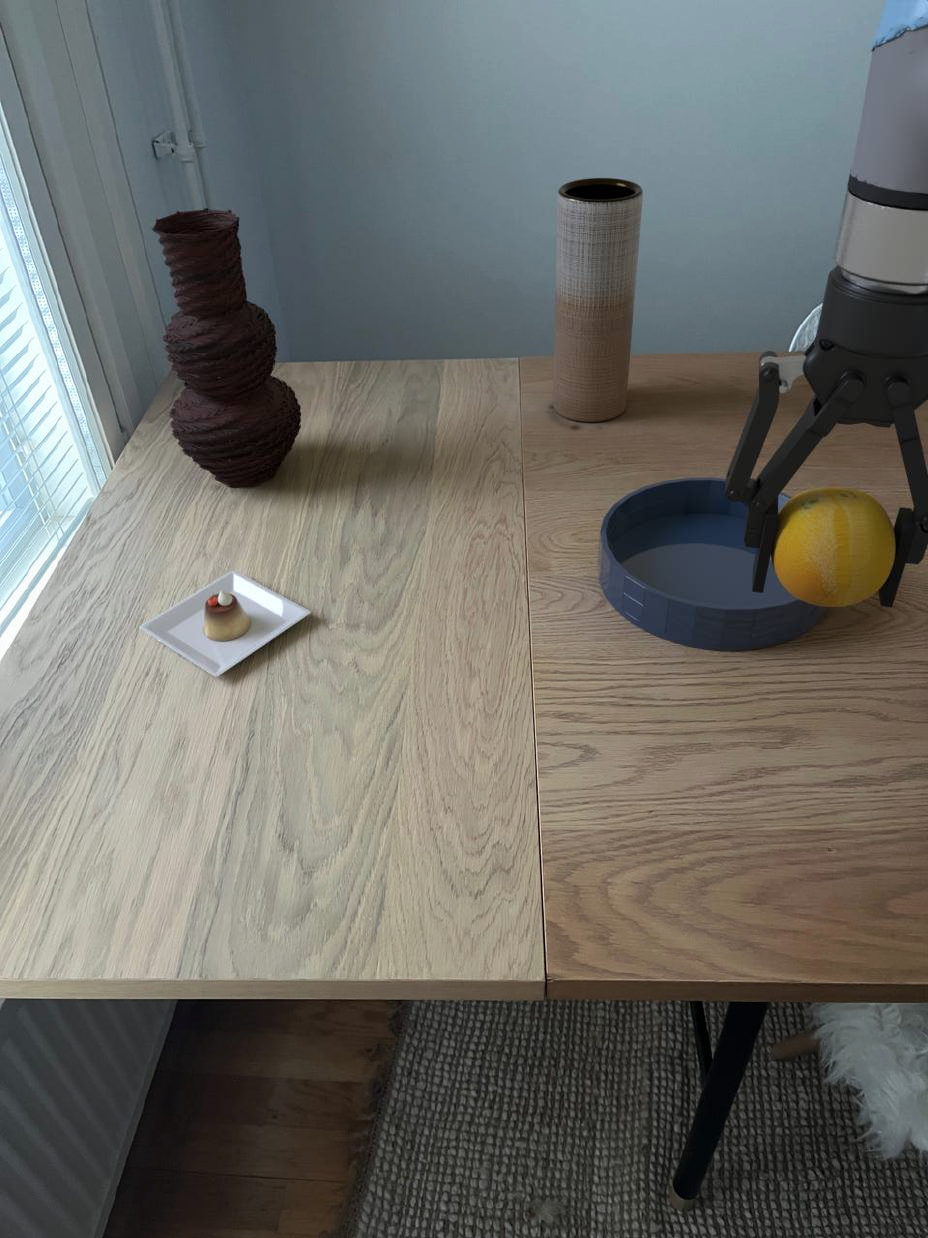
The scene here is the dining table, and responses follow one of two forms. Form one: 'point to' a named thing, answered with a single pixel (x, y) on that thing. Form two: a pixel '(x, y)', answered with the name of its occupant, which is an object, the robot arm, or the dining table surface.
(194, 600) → the dessert
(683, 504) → the bowl
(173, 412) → the vase
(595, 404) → the tall ceramic vase
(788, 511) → the fruit
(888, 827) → the dining table surface
